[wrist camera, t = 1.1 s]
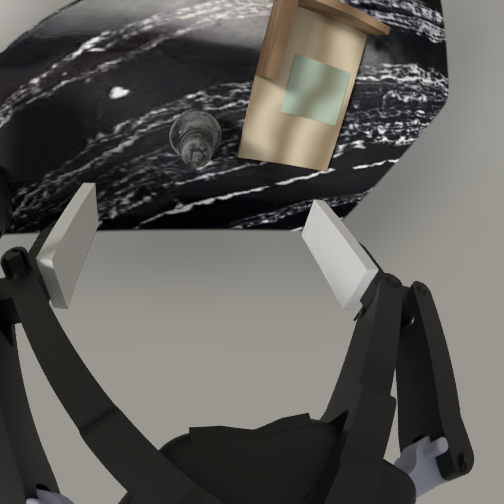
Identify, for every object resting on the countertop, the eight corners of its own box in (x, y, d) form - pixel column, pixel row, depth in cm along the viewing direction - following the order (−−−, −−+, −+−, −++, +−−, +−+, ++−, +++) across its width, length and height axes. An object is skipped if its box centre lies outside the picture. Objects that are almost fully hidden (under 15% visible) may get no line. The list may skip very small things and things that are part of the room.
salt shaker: (227, 130, 32) (246, 161, 23) (192, 159, 34) (195, 202, 24) (197, 96, 29) (201, 112, 19) (161, 128, 30) (148, 159, 21)
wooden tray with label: (237, 155, 34) (245, 170, 30) (276, -7, 21) (291, -17, 17) (324, 169, 38) (341, 185, 34) (365, 28, 25) (390, 27, 21)
